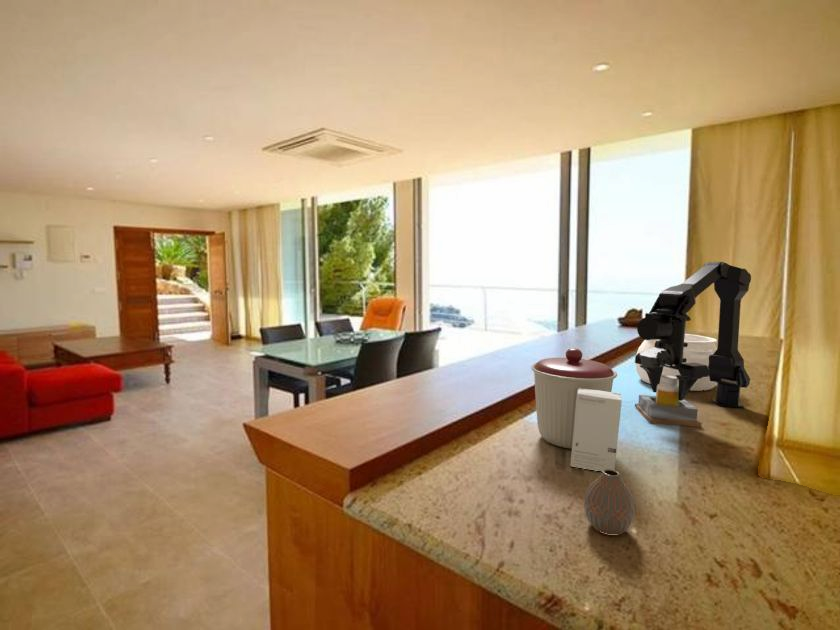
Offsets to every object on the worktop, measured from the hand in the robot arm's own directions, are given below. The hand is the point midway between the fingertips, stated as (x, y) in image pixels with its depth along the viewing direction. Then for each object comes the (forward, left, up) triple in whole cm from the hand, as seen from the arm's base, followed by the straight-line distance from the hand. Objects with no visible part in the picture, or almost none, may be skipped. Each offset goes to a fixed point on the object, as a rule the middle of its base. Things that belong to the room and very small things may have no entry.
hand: (667, 396), depth 124 cm
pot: (-41, +16, -6) cm, 44 cm away
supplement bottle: (0, 0, -5) cm, 5 cm away
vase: (+61, -27, -6) cm, 67 cm away
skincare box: (+38, -25, -6) cm, 46 cm away
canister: (+25, -28, -6) cm, 38 cm away
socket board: (0, 0, -6) cm, 6 cm away
